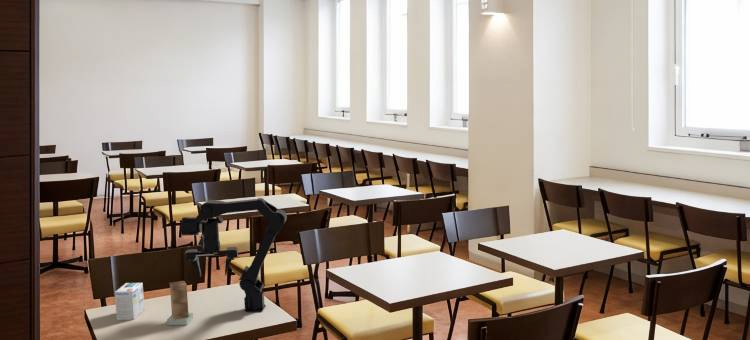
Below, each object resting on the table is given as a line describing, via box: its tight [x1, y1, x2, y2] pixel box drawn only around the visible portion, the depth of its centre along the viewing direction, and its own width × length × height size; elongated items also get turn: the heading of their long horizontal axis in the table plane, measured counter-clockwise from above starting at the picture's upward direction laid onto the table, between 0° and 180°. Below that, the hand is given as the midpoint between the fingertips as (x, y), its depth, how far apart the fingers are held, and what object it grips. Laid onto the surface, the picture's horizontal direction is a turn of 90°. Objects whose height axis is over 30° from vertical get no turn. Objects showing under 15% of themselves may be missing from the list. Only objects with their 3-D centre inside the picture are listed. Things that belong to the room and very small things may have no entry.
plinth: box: [166, 312, 194, 326], centre depth 245 cm, size 7×7×2 cm
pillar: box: [169, 280, 189, 320], centre depth 244 cm, size 5×5×12 cm
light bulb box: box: [114, 282, 145, 321], centre depth 253 cm, size 11×7×11 cm, turn 178°
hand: (213, 276), depth 255 cm, fingers open, 9 cm apart
